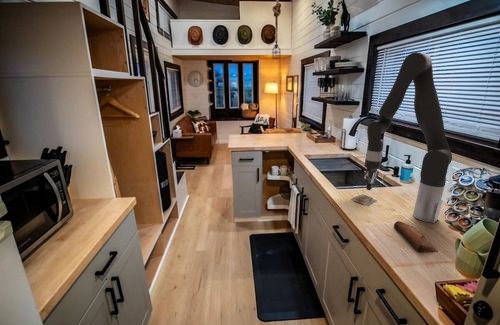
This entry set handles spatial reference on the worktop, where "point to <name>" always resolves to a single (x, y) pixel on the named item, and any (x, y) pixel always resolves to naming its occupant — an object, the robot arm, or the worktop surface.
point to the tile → (363, 199)
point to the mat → (367, 203)
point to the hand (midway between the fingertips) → (368, 189)
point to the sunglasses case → (415, 237)
